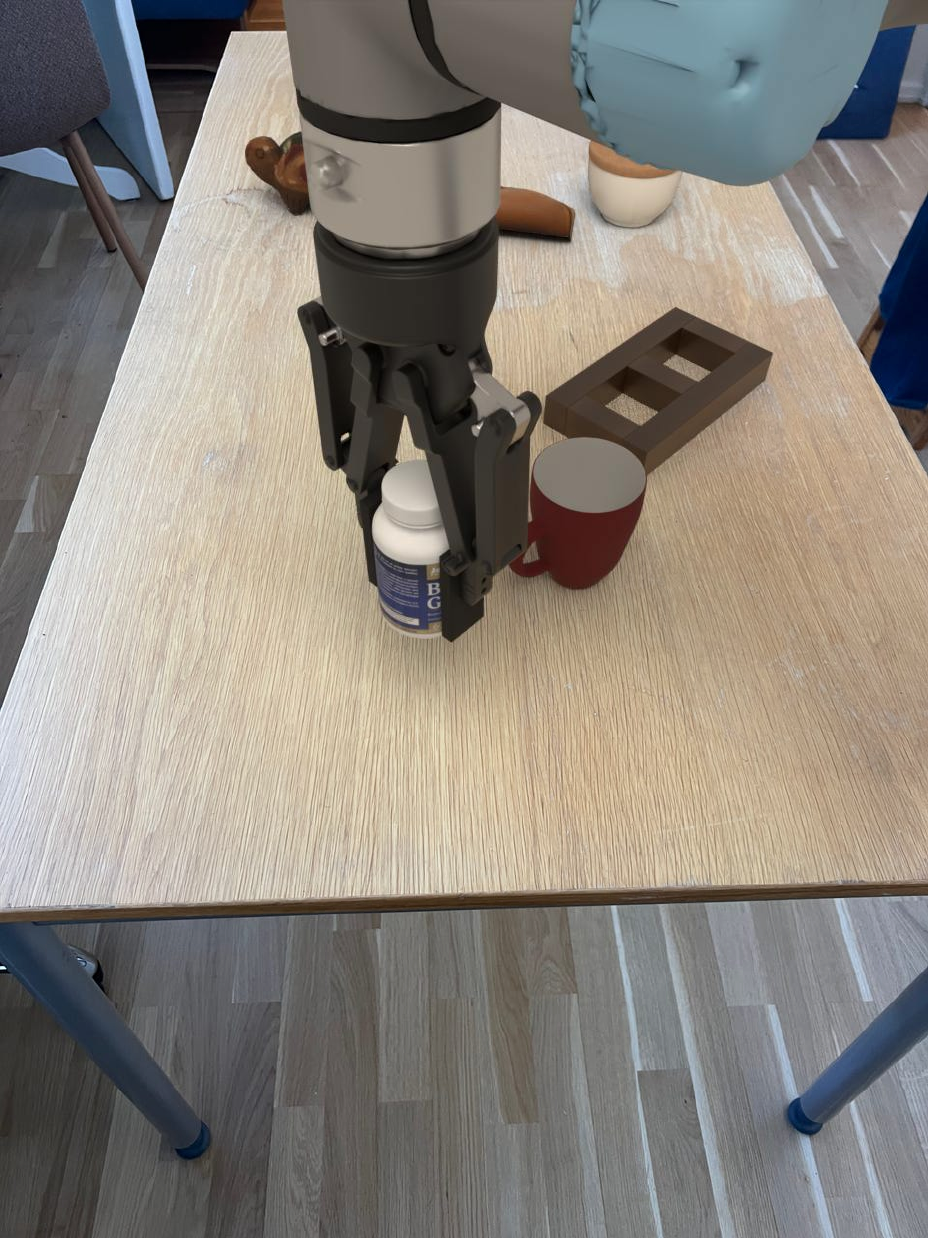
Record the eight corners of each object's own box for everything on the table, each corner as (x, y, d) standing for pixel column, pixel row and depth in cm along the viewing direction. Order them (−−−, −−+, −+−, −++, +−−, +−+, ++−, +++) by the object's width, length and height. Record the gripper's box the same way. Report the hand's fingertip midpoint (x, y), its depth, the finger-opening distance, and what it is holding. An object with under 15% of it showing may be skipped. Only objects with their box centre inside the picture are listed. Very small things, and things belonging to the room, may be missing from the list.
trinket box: (673, 194, 112) (687, 111, 105) (677, 240, 105) (693, 155, 98) (582, 190, 113) (591, 107, 106) (581, 235, 106) (590, 150, 99)
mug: (553, 645, 68) (565, 549, 61) (478, 583, 72) (481, 486, 65) (649, 574, 73) (671, 477, 65) (574, 519, 77) (587, 421, 69)
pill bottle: (437, 656, 54) (433, 534, 46) (362, 617, 55) (345, 494, 48) (488, 596, 57) (491, 472, 49) (414, 561, 58) (406, 437, 51)
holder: (765, 379, 89) (773, 352, 87) (641, 480, 80) (647, 452, 78) (670, 333, 94) (675, 306, 92) (542, 422, 85) (545, 395, 82)
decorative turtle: (244, 193, 112) (236, 120, 106) (368, 183, 116) (367, 113, 110) (258, 228, 105) (250, 153, 100) (389, 217, 109) (389, 144, 104)
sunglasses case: (577, 204, 109) (579, 168, 103) (569, 260, 108) (571, 227, 102) (424, 191, 111) (417, 155, 105) (416, 246, 110) (408, 213, 104)
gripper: (190, 173, 40) (275, 554, 58) (516, 345, 32) (498, 727, 50) (324, 119, 44) (366, 494, 61) (648, 261, 35) (588, 646, 53)
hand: (425, 598), depth 55 cm, fingers closed on pill bottle, 5 cm apart
